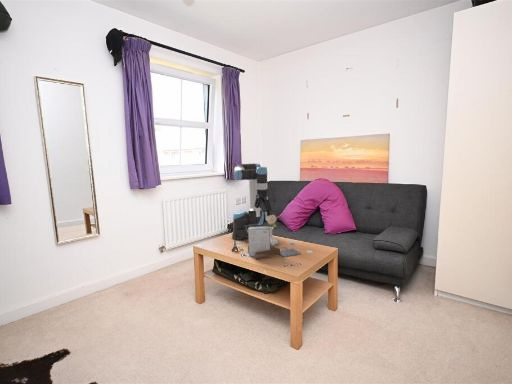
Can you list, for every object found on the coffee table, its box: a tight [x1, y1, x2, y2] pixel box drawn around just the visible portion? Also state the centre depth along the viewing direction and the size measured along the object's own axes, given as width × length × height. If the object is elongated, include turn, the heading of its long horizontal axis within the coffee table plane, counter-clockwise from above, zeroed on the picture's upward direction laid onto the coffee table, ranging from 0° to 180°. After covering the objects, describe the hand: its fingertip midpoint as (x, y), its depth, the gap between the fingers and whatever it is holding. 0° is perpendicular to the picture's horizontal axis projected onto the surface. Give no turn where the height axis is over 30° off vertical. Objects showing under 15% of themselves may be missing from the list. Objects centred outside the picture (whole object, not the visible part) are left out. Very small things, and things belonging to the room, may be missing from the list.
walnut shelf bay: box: [247, 242, 281, 261], centre depth 198 cm, size 16×18×5 cm
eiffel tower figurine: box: [231, 236, 245, 253], centre depth 205 cm, size 15×10×13 cm
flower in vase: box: [267, 214, 279, 246], centre depth 217 cm, size 13×11×25 cm
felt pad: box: [280, 248, 302, 258], centre depth 199 cm, size 12×14×1 cm
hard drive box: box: [247, 226, 271, 257], centre depth 196 cm, size 16×8×20 cm, turn 84°
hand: (262, 218), depth 194 cm, fingers open, 13 cm apart
